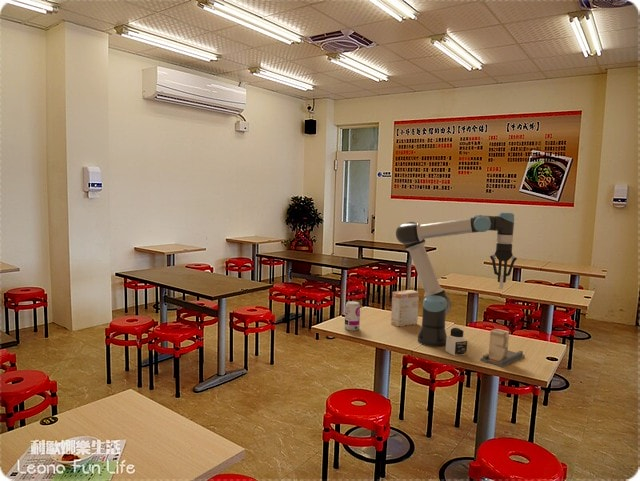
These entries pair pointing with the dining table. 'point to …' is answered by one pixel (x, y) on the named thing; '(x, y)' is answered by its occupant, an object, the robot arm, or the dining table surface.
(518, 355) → the guide track
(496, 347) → the birch block
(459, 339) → the medicine bottle
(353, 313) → the supplement can
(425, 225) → the robot arm
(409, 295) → the coffeecake box
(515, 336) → the dining table surface
